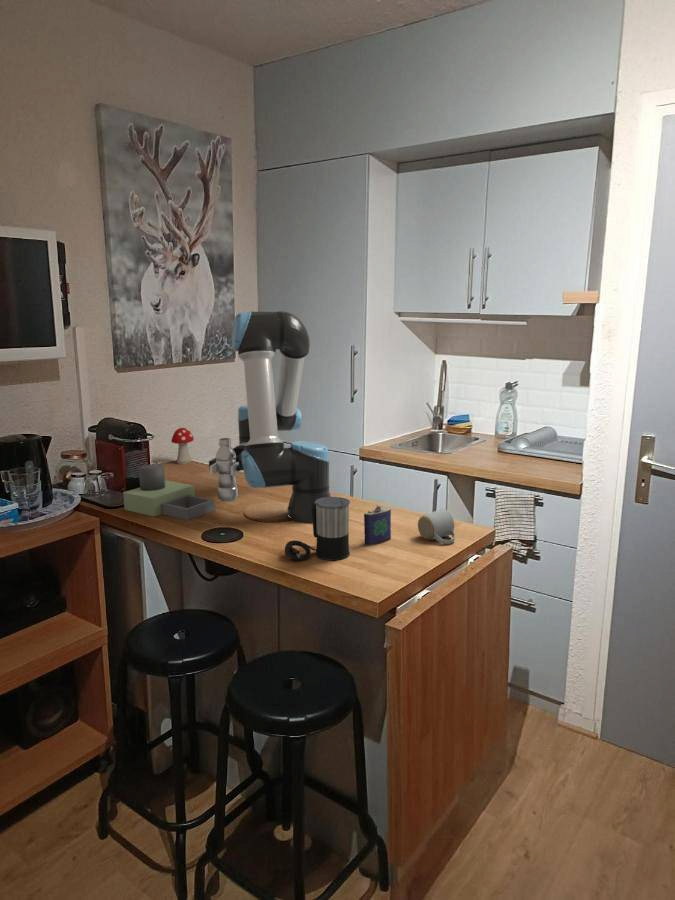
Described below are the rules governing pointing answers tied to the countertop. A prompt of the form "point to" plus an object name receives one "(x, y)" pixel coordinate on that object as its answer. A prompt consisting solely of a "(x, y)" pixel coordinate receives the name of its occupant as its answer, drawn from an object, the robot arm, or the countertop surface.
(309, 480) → the robot arm
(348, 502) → the milk frother
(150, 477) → the green block with tray
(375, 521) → the flask
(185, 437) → the decorative mushroom
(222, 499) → the plastic bottle
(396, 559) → the countertop surface
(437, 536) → the ceramic mug
